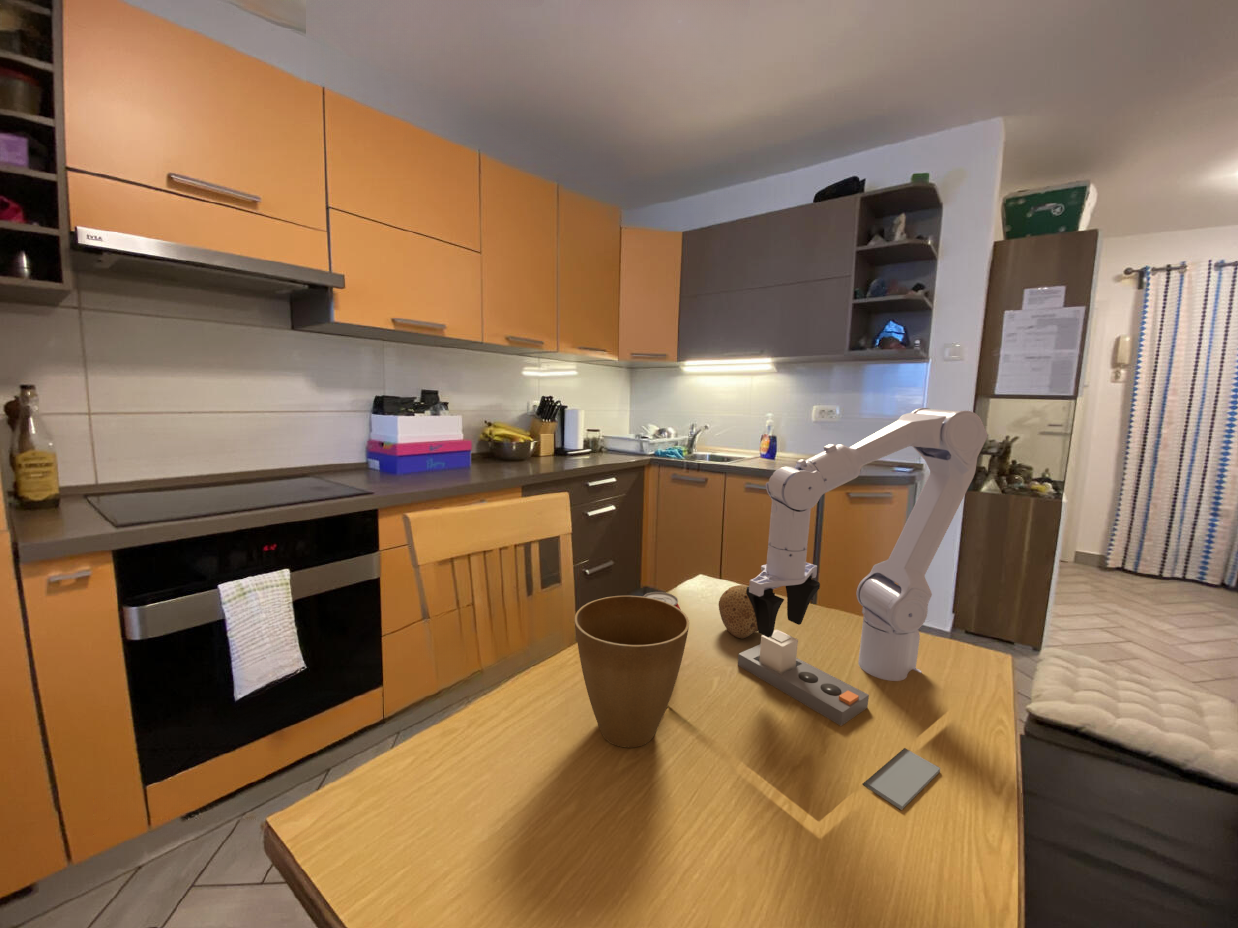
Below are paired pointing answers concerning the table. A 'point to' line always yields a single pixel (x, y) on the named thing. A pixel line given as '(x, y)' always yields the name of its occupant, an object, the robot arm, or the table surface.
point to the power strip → (810, 687)
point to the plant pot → (630, 663)
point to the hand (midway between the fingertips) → (780, 628)
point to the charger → (778, 651)
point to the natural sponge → (737, 612)
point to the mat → (902, 778)
